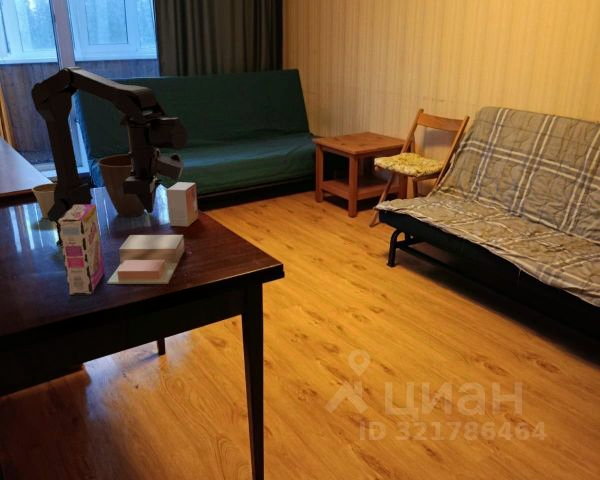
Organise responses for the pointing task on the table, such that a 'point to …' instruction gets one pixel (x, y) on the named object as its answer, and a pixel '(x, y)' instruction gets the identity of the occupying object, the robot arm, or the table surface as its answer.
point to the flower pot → (45, 197)
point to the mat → (163, 280)
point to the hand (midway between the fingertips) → (150, 212)
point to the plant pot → (119, 185)
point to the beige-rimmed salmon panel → (141, 269)
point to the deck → (152, 248)
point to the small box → (182, 204)
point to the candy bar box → (81, 248)
